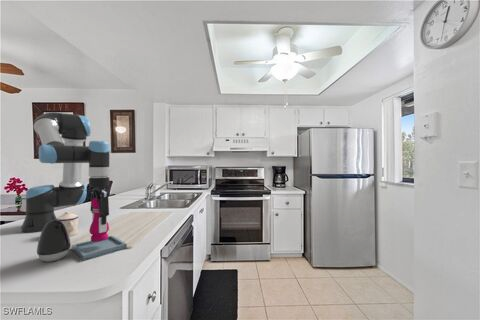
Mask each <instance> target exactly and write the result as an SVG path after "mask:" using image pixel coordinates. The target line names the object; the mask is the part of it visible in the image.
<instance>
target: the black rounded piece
mask: <svg viewBox="0 0 480 320" xmlns="http://www.w3.org/2000/svg"><path fill="white" fill-rule="evenodd" d="M39 235H40V236H39V238H38V243H37V248H36V254H37V255H38V258H39V259H40V260H41V261H43V262H55V261H59V260H61V259H63V258H64V257H65V256H67V255H68V253H69V250H70V248H72V243H71V239H70V236H69V234H68V231H67V229H66V227H65V225H64V224H63V222H61V221H60V220H52V221H49V222H48V223H47V224H46V225H45V227H44V228H43V230H42V231H40V234H39Z"/></svg>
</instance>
